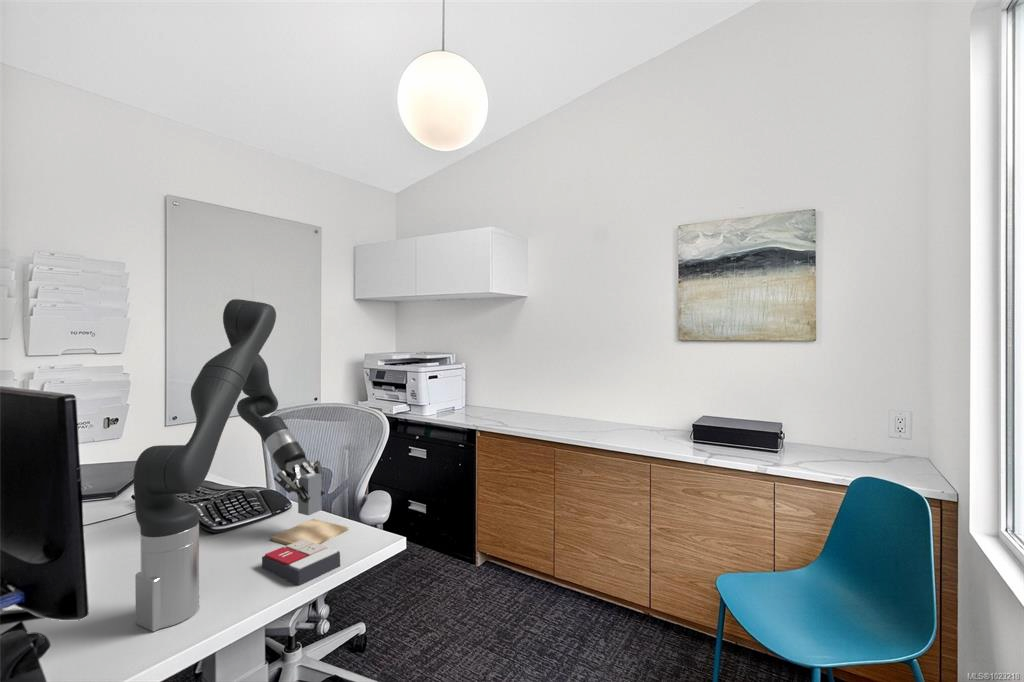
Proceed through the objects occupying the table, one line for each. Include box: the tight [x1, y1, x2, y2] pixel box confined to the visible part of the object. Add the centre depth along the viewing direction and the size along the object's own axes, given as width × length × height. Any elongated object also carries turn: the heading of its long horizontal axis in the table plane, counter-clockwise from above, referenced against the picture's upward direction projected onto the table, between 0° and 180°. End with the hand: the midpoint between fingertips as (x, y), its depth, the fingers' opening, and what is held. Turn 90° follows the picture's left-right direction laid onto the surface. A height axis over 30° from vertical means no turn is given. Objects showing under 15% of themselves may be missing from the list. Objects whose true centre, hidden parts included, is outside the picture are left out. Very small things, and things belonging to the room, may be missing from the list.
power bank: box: [297, 473, 323, 517], centre depth 127 cm, size 4×4×10 cm
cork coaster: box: [269, 518, 349, 546], centre depth 127 cm, size 14×14×1 cm
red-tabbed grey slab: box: [261, 539, 341, 587], centre depth 110 cm, size 11×4×15 cm
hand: (315, 497), depth 127 cm, fingers closed on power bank, 4 cm apart
